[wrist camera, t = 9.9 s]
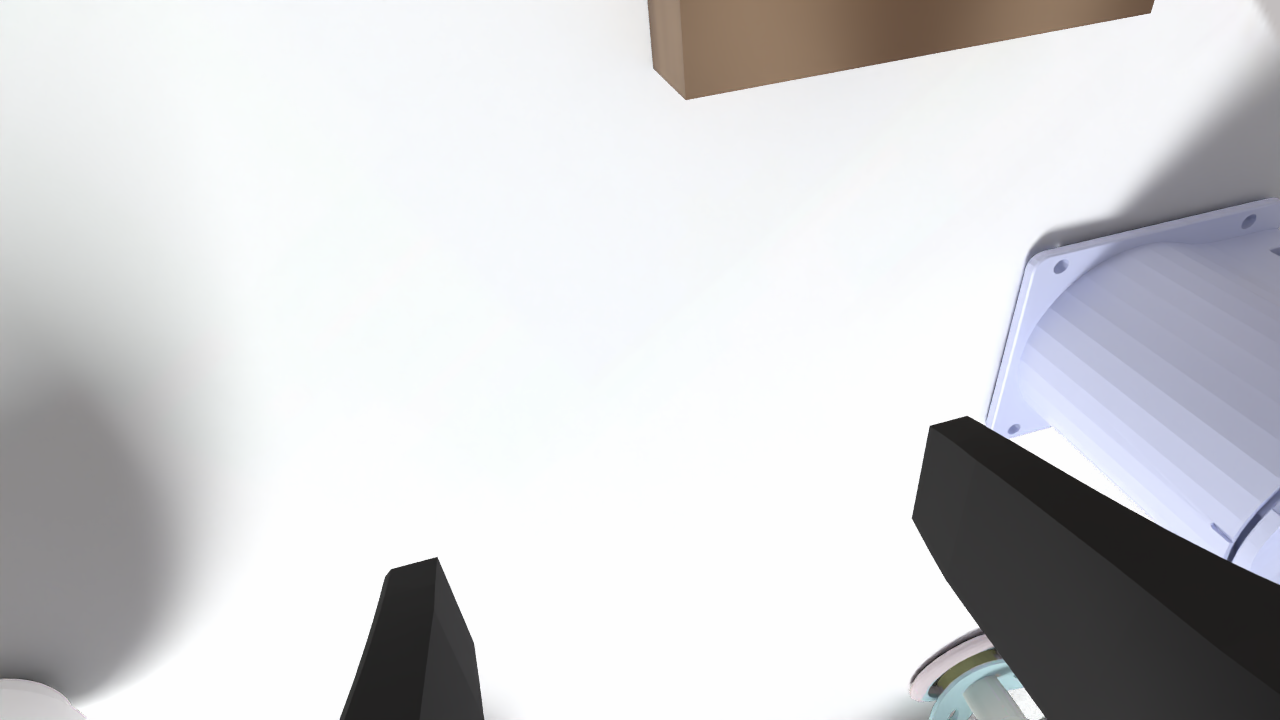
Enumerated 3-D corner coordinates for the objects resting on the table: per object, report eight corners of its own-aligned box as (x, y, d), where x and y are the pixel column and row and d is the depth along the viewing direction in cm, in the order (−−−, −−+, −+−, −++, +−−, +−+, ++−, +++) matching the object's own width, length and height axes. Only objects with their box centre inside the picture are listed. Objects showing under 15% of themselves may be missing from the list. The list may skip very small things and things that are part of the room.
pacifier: (883, 677, 38) (923, 714, 42) (952, 801, 33) (991, 830, 37) (1005, 603, 37) (1036, 647, 41) (1096, 720, 32) (1123, 759, 35)
